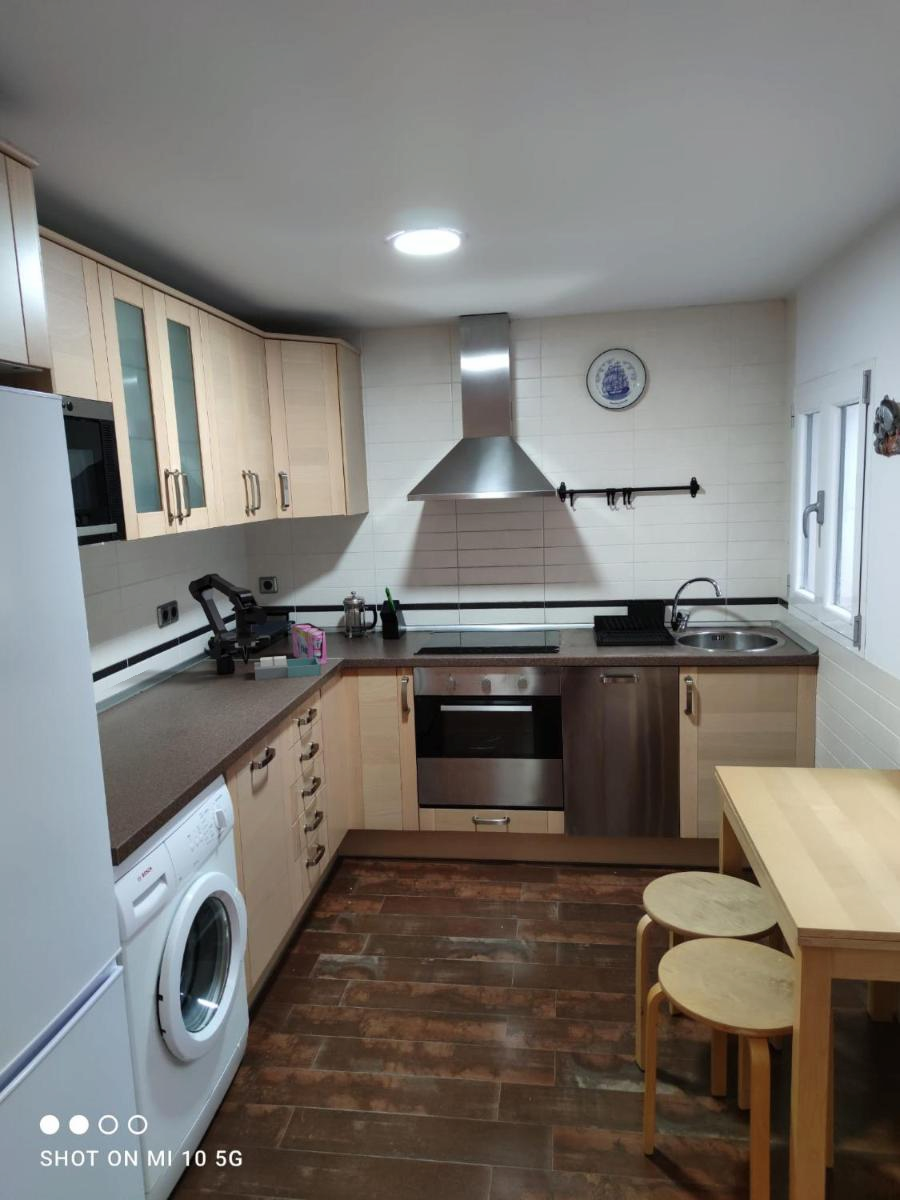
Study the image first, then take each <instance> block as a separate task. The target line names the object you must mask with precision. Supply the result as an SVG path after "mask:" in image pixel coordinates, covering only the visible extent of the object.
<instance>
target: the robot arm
mask: <svg viewBox="0 0 900 1200" xmlns="http://www.w3.org/2000/svg"><path fill="white" fill-rule="evenodd" d="M214 589H215V590H217V591H219V592H220V593H222V594H223V595H225V596H226V597H227V598H228V601H229V602H230V603H231V604H232V605H233V607H232V608H231V610H230V611H231V612H234V615H235V617H234V618H235V630H236V631H229V630H228V629H227V627H226V624H225V622H224V621H223V619H222V616H221V614H220V612H219V609H218V607H217V605H216V603H215V600H214V597H213V595H214ZM188 592H189V593H190V595H191V597H192V599H194V600H195V601H197V602H198V603H199V604H200V605H201V609H202V610H203V612H204V615H205V617H206V620H207V622H208V624H209V626H210V627H211V631H212V632H213V633H212V634H213V635H214V638H213V645H214V647H213V649H212V650H211V652H210V657H211V659H213V660H215V661H216V663H215V664H216V675H218V676H220V675H221V676H222V675H231V674H235V672H236V660H235V659H234V657H236V656H238V653H240V655H241V658H242V660H243V663H244V665H248V664H249V663H248V662H249V659H250V655H251V652H252V650H253V649H255V648H256V644H260V645H261V646H271V644H272V643H271V641H272V640H271V636H270V635H269V634H268V635H265V634H264V635H259V637H257V632H256V631H253V626H260V627H262V626H264V625H265V624H266V623H267V620H268V615H267V613H266V611H264V610H263V607H262V606H259V603H258V602H257V600H256V597H255V596H254V594H253V592H252V590H250V589H248V588H244V587H242V586H237V585H235V584H233V583H232V582H230V581H228V580H226V579H224V578H223V577H222V576H221V575H219V574H218V573H215V572H214V573H207V574H205V575H203V576H202V577H199V578H198V579H194V580H191V581H190V583H189V584H188ZM245 647H246V652H245ZM245 653H246V654H245Z"/></svg>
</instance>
